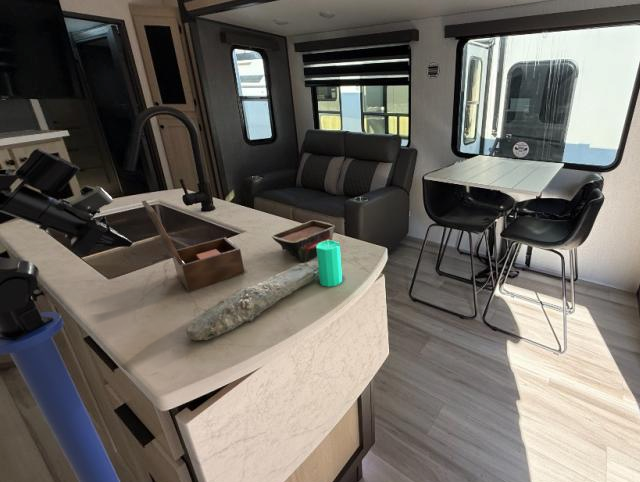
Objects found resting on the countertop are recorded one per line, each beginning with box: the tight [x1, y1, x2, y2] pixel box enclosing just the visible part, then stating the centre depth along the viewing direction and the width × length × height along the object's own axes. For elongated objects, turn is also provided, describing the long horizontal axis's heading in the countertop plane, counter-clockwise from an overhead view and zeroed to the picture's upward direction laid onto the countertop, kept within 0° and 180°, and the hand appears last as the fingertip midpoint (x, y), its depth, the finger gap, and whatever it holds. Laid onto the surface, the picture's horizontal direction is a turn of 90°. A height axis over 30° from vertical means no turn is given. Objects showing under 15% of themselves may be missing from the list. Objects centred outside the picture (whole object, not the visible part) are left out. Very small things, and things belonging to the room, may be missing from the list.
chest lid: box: [141, 200, 183, 265], centre depth 77 cm, size 14×12×1 cm
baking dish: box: [271, 219, 336, 263], centre depth 100 cm, size 14×18×10 cm
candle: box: [316, 239, 343, 288], centre depth 83 cm, size 6×6×12 cm
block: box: [196, 249, 221, 260], centre depth 87 cm, size 5×5×5 cm
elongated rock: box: [185, 260, 319, 341], centre depth 76 cm, size 35×5×10 cm
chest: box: [171, 236, 245, 293], centre depth 87 cm, size 14×12×7 cm
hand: (131, 244), depth 73 cm, fingers closed
